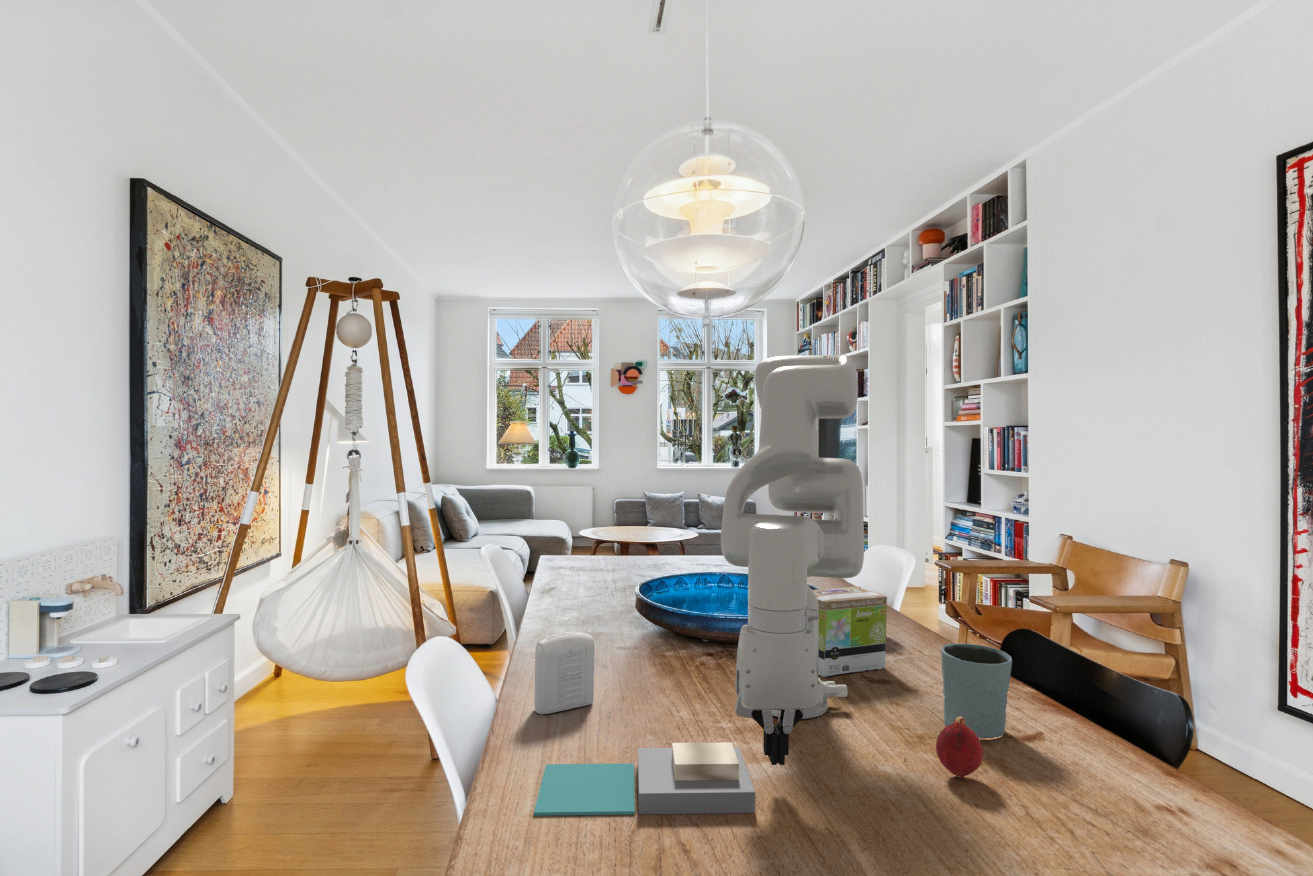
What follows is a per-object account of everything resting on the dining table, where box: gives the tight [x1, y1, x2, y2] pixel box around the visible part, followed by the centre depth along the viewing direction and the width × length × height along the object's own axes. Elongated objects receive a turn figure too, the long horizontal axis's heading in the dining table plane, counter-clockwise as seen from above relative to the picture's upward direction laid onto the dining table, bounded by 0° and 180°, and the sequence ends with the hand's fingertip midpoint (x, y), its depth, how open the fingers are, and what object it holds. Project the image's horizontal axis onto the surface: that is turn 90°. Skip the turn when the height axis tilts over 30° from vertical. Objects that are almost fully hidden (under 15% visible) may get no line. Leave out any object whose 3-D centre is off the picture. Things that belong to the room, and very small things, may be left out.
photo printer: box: [534, 631, 595, 716], centre depth 114 cm, size 10×4×12 cm, turn 123°
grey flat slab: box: [637, 746, 756, 815], centre depth 88 cm, size 14×12×2 cm
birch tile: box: [671, 741, 739, 780], centre depth 88 cm, size 8×6×2 cm
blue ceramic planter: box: [940, 642, 1013, 738], centre depth 107 cm, size 10×10×12 cm
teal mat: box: [533, 762, 636, 817], centre depth 87 cm, size 12×12×1 cm
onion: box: [935, 716, 984, 778], centre depth 91 cm, size 6×6×8 cm
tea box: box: [812, 586, 888, 678], centre depth 136 cm, size 15×10×15 cm, turn 114°
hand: (775, 760), depth 88 cm, fingers closed
